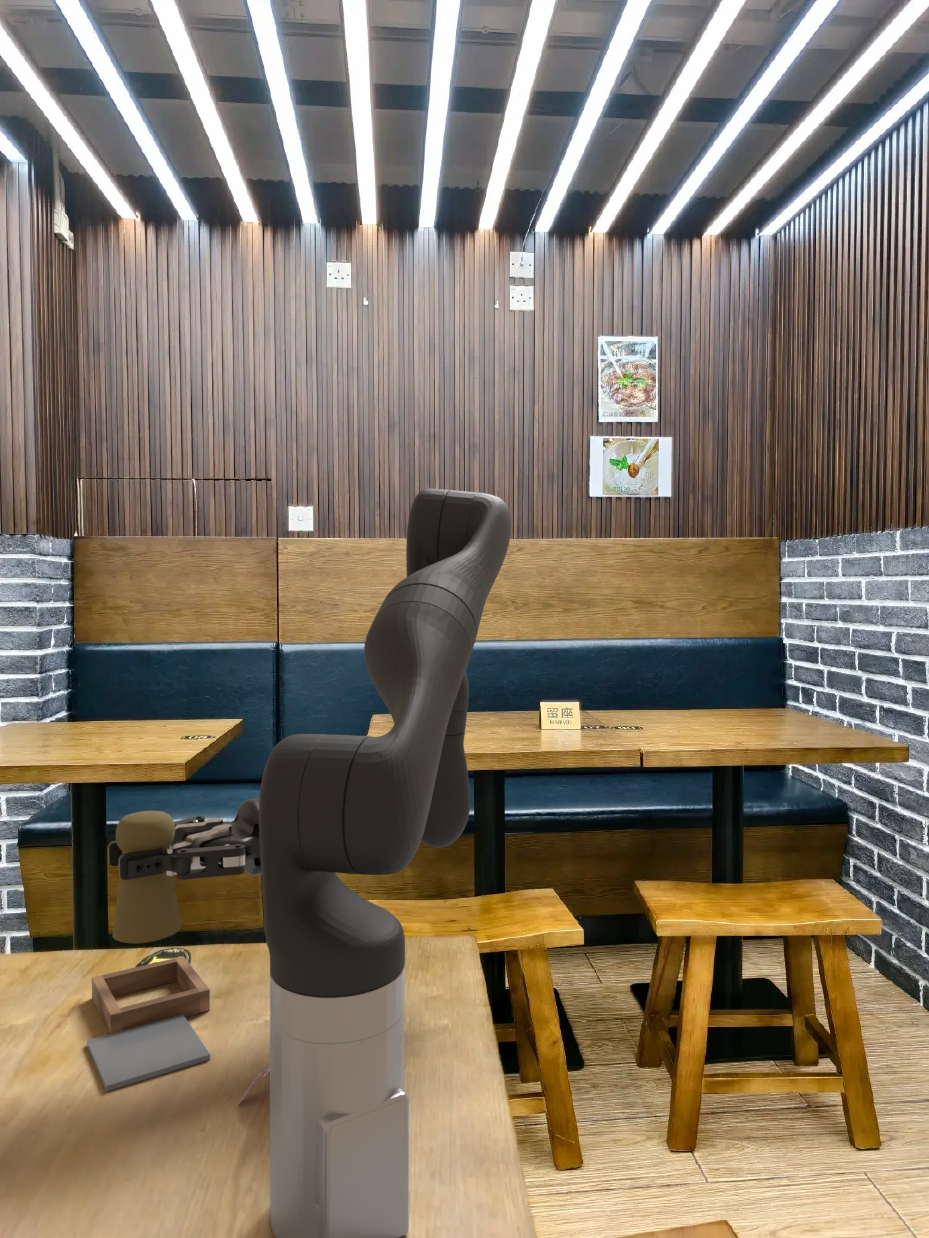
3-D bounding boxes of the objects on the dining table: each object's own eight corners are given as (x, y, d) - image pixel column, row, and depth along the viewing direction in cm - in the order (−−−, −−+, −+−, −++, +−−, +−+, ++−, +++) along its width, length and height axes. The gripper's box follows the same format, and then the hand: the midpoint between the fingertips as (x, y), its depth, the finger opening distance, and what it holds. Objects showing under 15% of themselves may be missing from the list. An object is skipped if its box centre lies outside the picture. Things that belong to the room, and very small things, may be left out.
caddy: (209, 1010, 86) (209, 989, 86) (110, 1037, 81) (110, 1014, 81) (183, 975, 94) (183, 955, 94) (92, 997, 89) (91, 977, 88)
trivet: (210, 1059, 77) (210, 1054, 77) (106, 1091, 72) (106, 1085, 72) (182, 1018, 84) (182, 1013, 84) (86, 1045, 79) (86, 1039, 79)
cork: (191, 918, 80) (190, 805, 80) (163, 944, 74) (161, 822, 74) (132, 916, 81) (130, 804, 81) (99, 941, 75) (97, 821, 75)
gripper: (264, 781, 91) (97, 804, 82) (319, 809, 80) (131, 838, 70) (265, 849, 92) (98, 879, 82) (319, 886, 80) (132, 927, 70)
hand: (114, 860), depth 76 cm, fingers closed on cork, 4 cm apart
